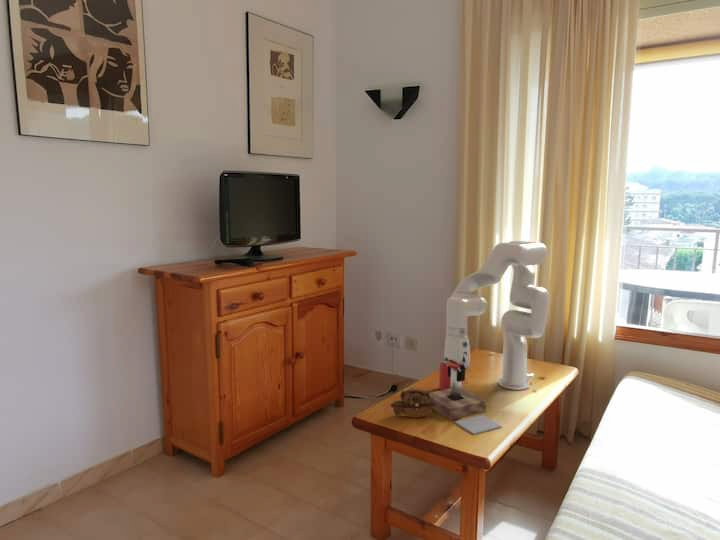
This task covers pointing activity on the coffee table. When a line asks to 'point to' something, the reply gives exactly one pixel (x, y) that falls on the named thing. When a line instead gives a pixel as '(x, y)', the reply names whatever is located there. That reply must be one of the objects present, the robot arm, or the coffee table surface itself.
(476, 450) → the coffee table surface
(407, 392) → the wooden carving
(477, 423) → the mat
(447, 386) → the beer can
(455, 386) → the peg
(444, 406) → the eye block
